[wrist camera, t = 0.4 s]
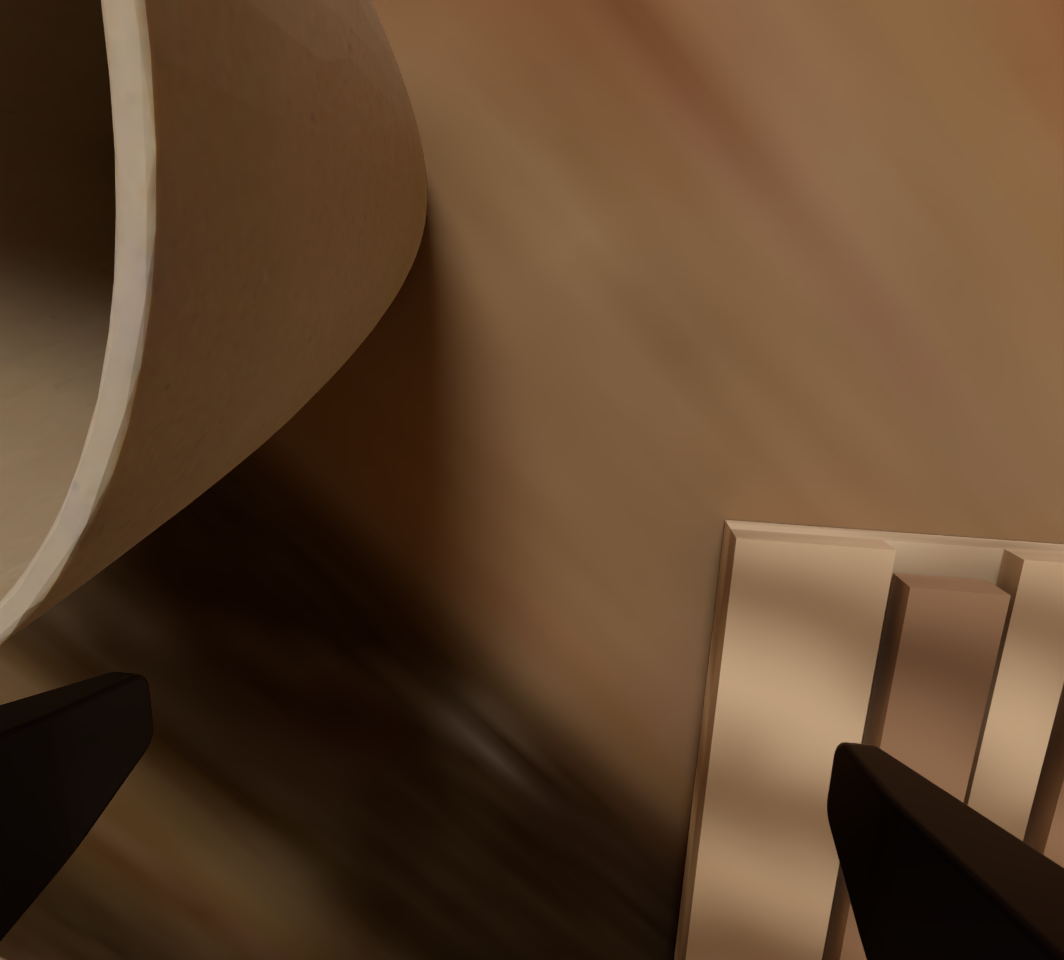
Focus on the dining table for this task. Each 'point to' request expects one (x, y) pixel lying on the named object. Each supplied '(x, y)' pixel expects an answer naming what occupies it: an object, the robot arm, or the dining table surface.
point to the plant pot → (180, 253)
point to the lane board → (845, 719)
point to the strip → (927, 695)
